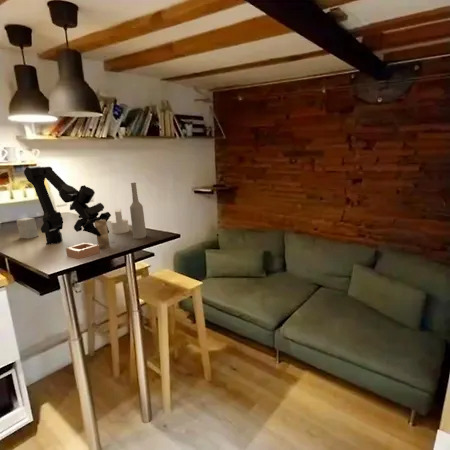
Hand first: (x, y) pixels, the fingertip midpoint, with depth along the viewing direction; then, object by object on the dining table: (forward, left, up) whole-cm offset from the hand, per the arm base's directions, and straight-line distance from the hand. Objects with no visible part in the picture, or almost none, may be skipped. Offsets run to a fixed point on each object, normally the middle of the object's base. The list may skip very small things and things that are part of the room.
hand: (104, 234), depth 156 cm
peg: (-1, +1, -7) cm, 7 cm away
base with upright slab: (+4, +31, -7) cm, 32 cm away
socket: (-9, -6, -7) cm, 13 cm away
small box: (-46, +40, -7) cm, 61 cm away
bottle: (+15, +14, -7) cm, 21 cm away
